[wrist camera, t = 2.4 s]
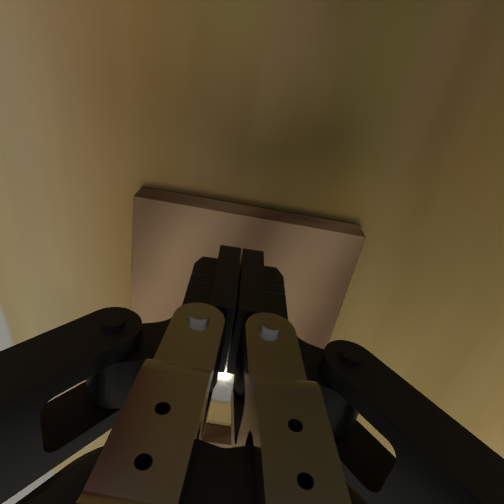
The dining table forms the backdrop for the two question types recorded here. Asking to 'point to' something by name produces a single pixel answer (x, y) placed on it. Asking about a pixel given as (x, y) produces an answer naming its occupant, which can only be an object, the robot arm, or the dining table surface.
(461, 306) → the dining table surface
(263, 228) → the wooden cutting board
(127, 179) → the dining table surface
